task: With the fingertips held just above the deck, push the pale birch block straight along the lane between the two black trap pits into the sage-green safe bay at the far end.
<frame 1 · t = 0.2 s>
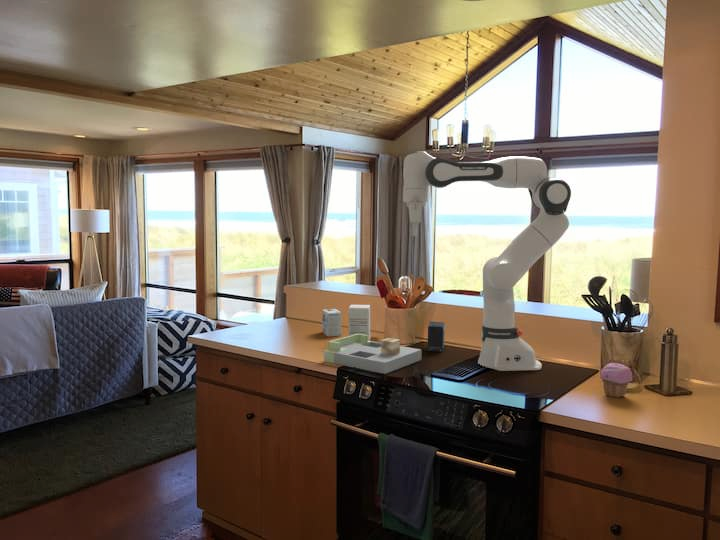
hand: (414, 235, 209), 47 cm above the worktop, fingers open, 8 cm apart
birch block: (390, 353, 210), point 4 cm above the worktop, touching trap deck
small box: (436, 349, 234), on the worktop
cupcake: (615, 396, 174), on the worktop
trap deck: (372, 360, 215), on the worktop
supplement box: (359, 340, 251), on the worktop
light bulb box: (331, 334, 263), on the worktop
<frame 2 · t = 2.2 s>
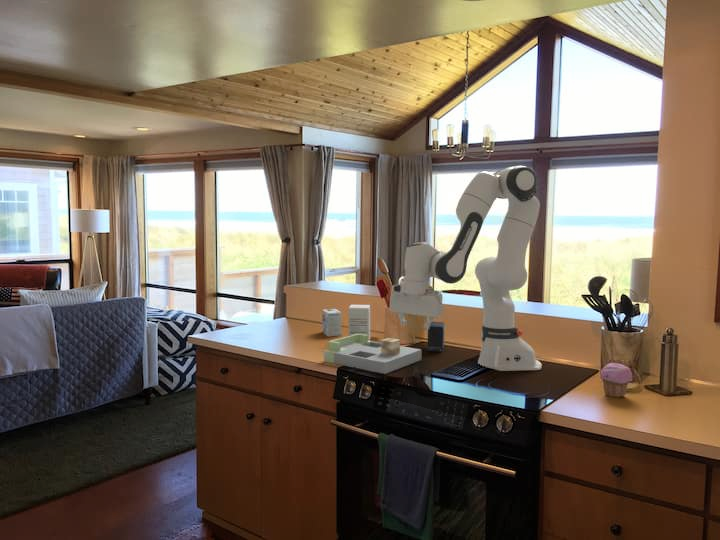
hand: (414, 327, 202), 15 cm above the worktop, fingers open, 8 cm apart
nothing on the worktop moved.
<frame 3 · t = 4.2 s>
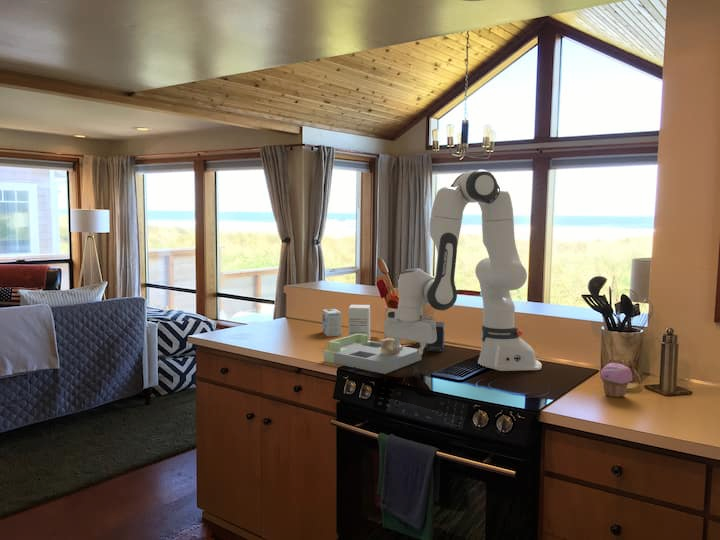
hand: (409, 352, 205), 6 cm above the worktop, fingers open, 7 cm apart
birch block: (390, 353, 210), point 4 cm above the worktop, touching gripper, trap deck
everything else where it was.
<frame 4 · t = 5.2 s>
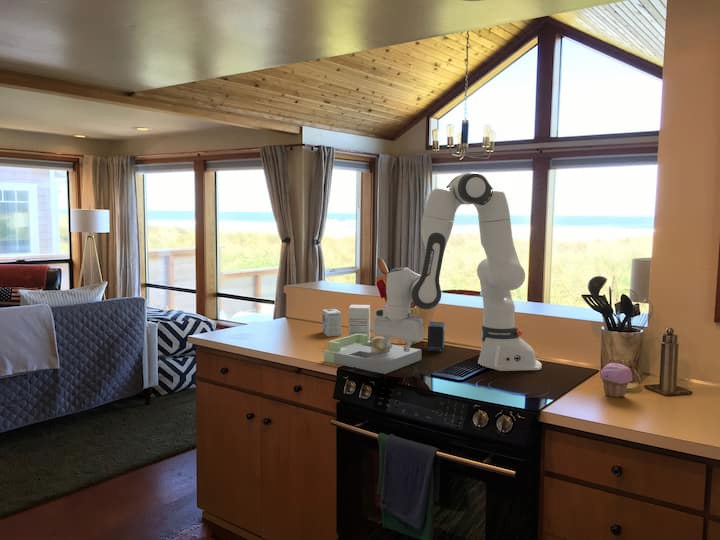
hand: (397, 350, 207), 6 cm above the worktop, fingers open, 6 cm apart
birch block: (380, 351, 212), point 4 cm above the worktop, touching gripper, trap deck
everything else where it was.
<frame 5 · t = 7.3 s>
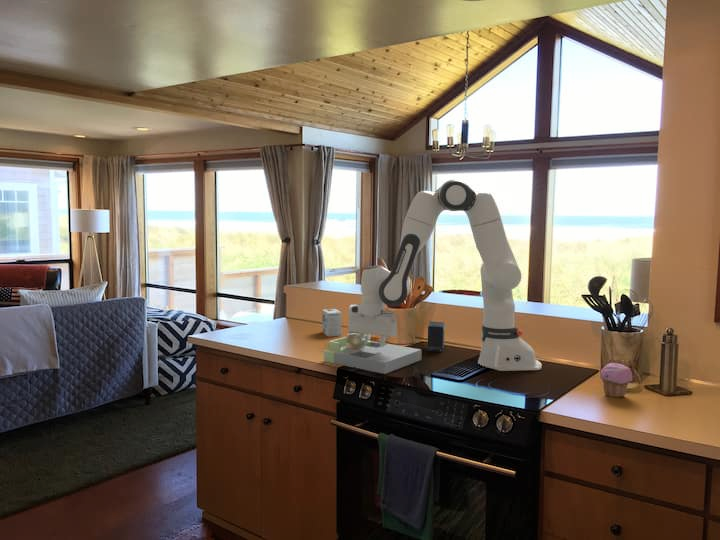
hand: (372, 345, 214), 6 cm above the worktop, fingers open, 6 cm apart
birch block: (355, 347, 219), point 4 cm above the worktop, touching gripper, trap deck
everything else where it was.
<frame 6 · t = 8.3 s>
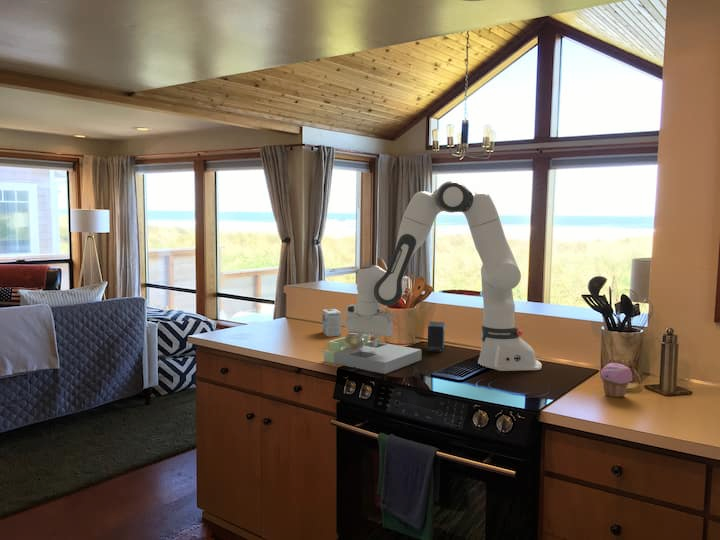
hand: (368, 344, 215), 6 cm above the worktop, fingers open, 4 cm apart
nothing on the worktop moved.
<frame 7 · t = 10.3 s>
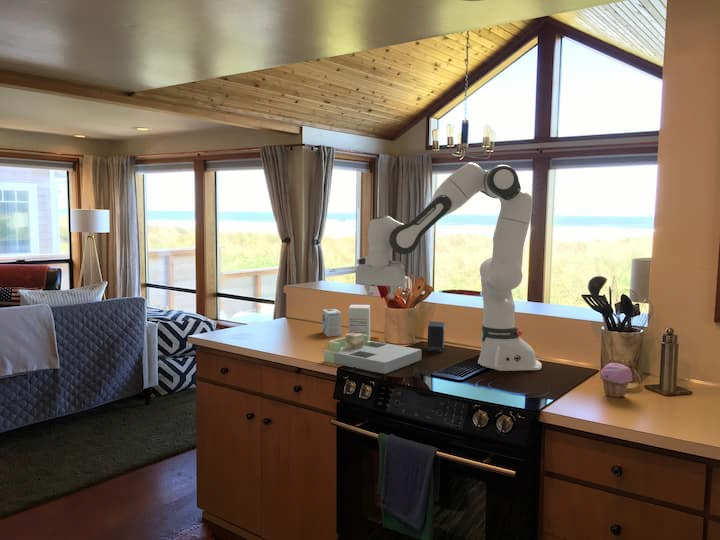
hand: (380, 297, 212), 24 cm above the worktop, fingers open, 8 cm apart
birch block: (354, 347, 219), point 4 cm above the worktop, touching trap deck
everything else where it was.
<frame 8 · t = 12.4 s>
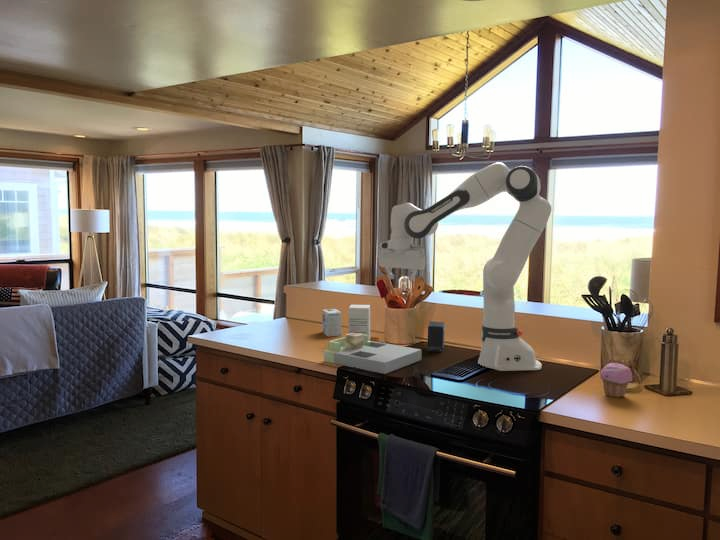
hand: (401, 279, 225), 29 cm above the worktop, fingers open, 8 cm apart
nothing on the worktop moved.
at the end: birch block inside the target area on the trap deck (1.8 cm from its centre), point 4.0 cm above the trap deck's base; birch block tilted 0°; birch block moved 16.4 cm from its start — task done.
